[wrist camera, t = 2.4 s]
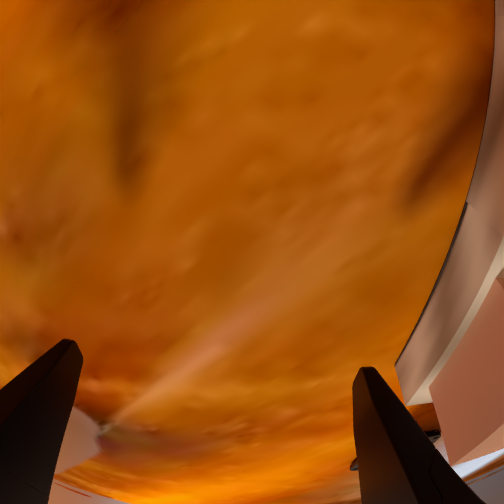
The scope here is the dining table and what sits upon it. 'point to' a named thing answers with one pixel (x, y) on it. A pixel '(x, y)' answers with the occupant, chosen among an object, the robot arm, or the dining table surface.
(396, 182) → the dining table surface
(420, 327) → the trap board
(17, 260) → the dining table surface
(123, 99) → the dining table surface
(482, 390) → the terracotta block
